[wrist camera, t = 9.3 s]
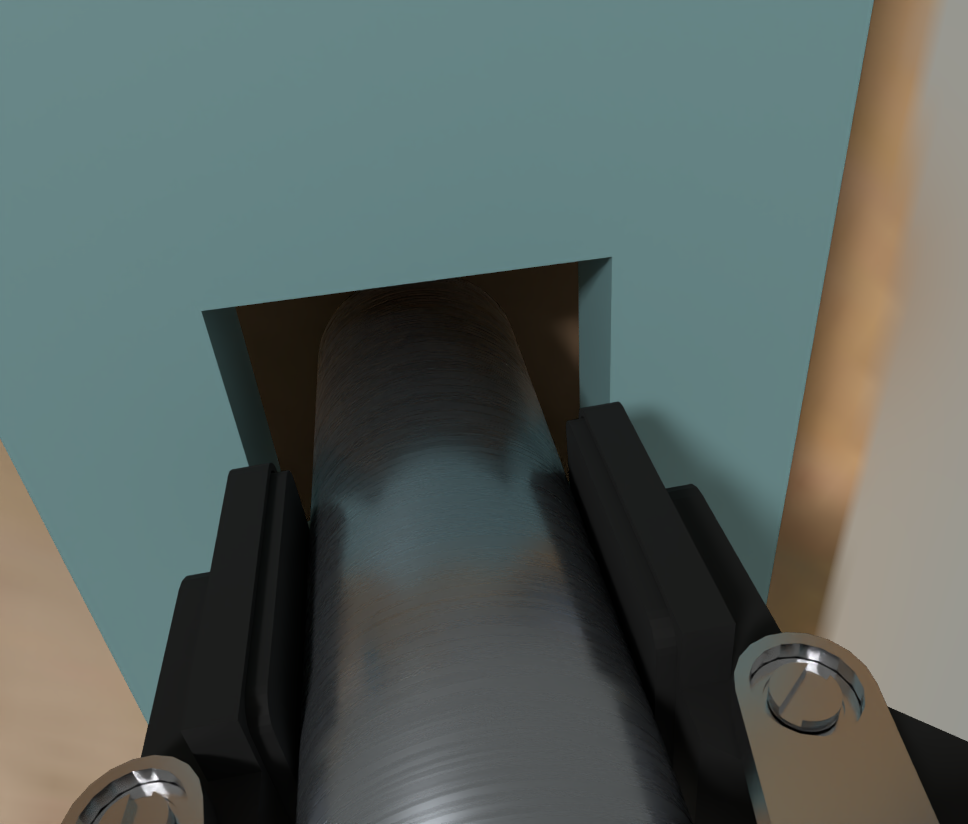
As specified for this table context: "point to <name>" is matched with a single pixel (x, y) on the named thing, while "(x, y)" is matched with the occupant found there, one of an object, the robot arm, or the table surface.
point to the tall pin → (458, 591)
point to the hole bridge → (398, 234)
